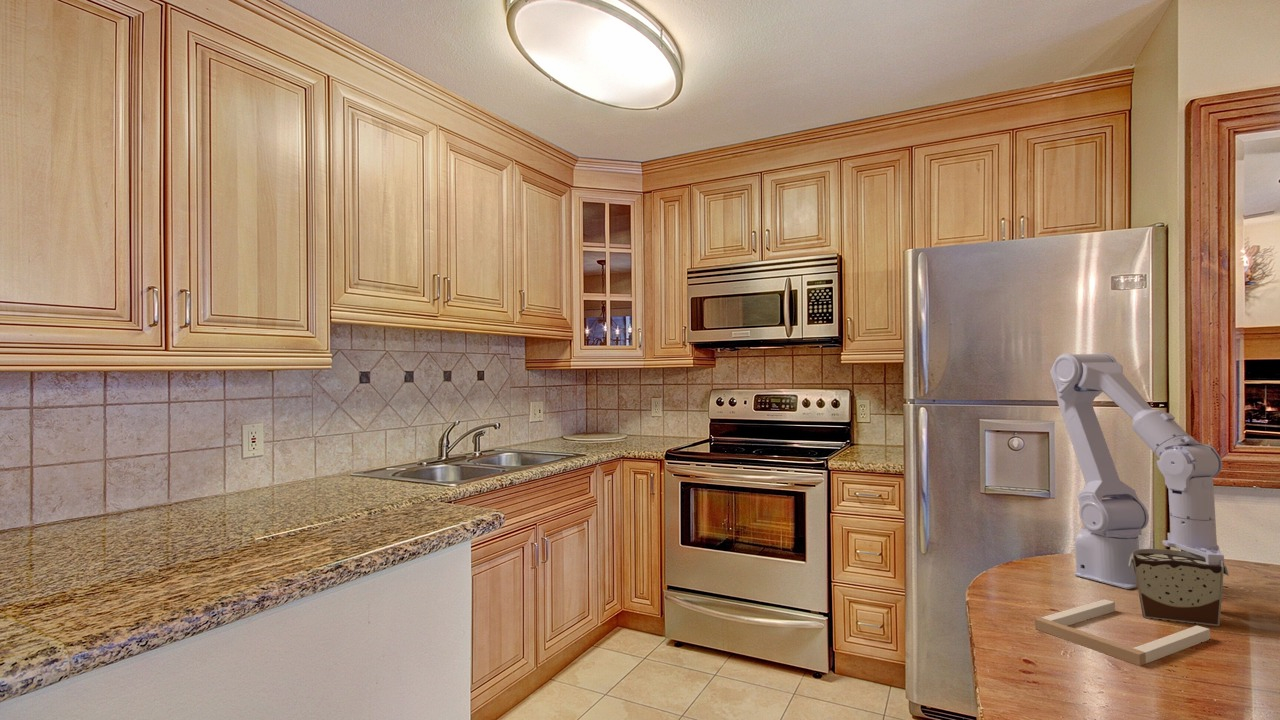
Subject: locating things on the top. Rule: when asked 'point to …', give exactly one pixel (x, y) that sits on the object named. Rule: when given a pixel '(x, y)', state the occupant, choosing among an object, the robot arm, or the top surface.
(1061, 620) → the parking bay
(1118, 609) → the top surface
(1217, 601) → the food container
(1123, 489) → the robot arm
